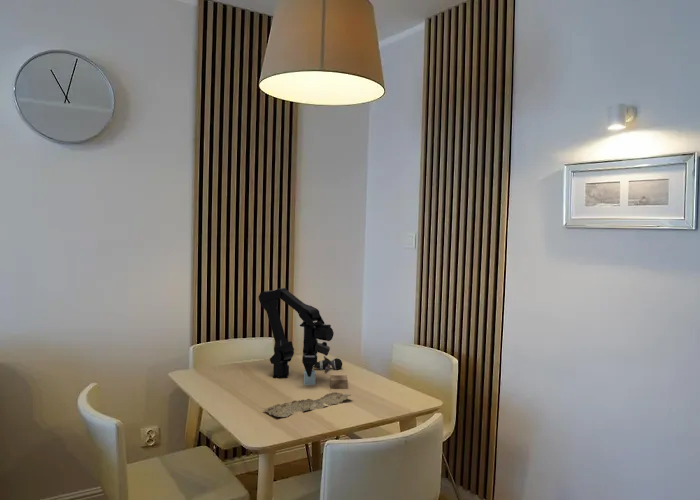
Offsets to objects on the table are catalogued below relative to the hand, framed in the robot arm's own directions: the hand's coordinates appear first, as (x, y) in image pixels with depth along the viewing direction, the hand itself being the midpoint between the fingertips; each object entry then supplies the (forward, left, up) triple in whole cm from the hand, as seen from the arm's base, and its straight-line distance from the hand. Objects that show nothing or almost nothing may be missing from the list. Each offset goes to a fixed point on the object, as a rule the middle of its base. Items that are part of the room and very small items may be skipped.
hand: (309, 373), depth 225 cm
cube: (0, 0, -4) cm, 4 cm away
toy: (+8, +22, -5) cm, 24 cm away
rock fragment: (0, -29, -5) cm, 30 cm away
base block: (+12, -5, -4) cm, 14 cm away
